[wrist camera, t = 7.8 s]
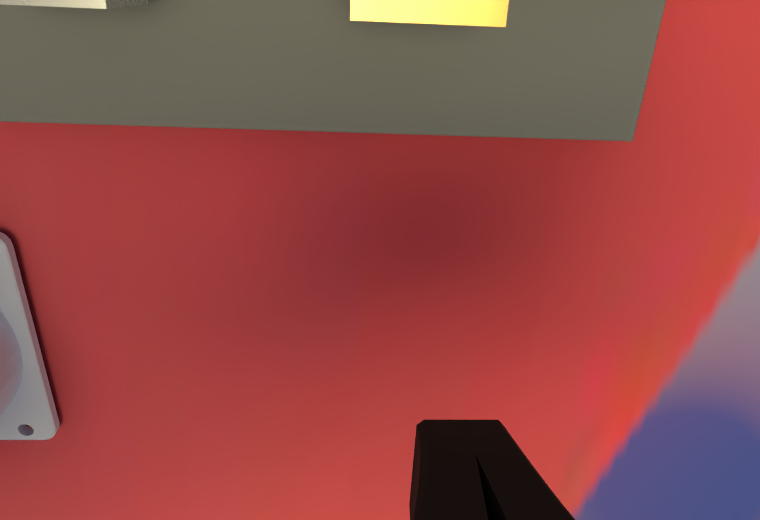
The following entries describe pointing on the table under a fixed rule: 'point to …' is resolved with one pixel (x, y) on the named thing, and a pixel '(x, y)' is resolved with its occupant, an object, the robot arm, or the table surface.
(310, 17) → the plate
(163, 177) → the table surface
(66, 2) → the fixed leg
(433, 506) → the robot arm
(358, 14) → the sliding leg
